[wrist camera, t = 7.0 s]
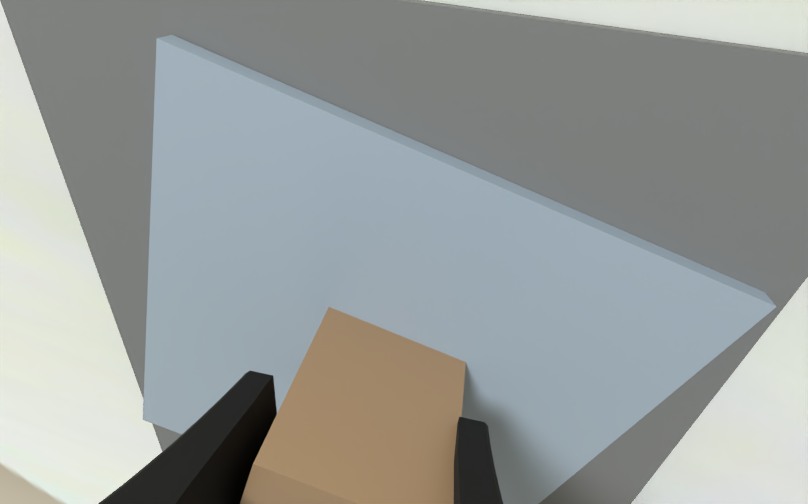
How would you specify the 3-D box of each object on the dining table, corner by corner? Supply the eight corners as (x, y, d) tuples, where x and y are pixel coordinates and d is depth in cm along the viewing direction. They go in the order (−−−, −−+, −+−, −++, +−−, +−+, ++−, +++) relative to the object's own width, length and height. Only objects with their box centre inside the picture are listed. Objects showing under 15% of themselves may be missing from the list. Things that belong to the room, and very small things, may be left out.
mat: (938, 70, 8) (962, 78, 7) (588, 541, 18) (590, 555, 18) (2, -57, 9) (-20, -57, 9) (169, 441, 20) (162, 452, 19)
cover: (765, 292, 10) (950, 524, 6) (484, 535, 18) (480, 706, 14) (171, 34, 9) (-92, 97, 5) (151, 408, 17) (42, 551, 13)
